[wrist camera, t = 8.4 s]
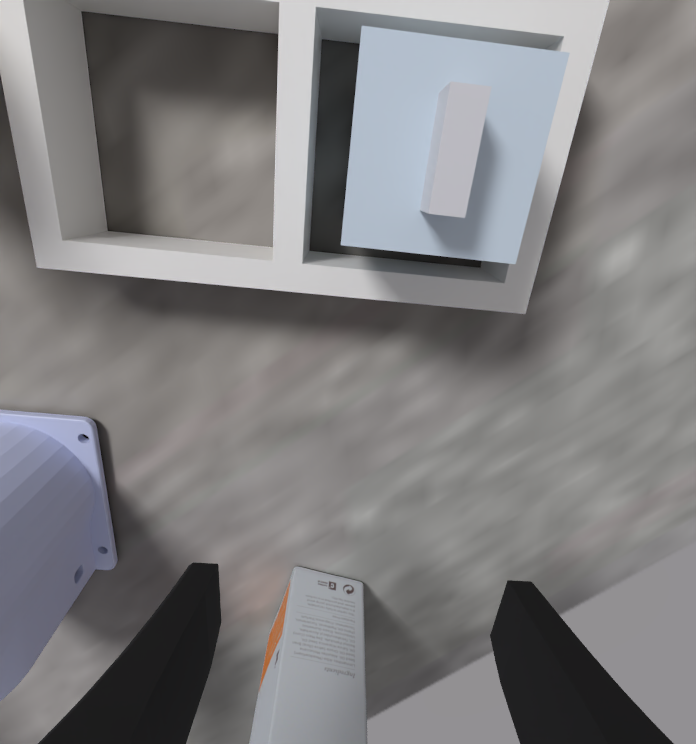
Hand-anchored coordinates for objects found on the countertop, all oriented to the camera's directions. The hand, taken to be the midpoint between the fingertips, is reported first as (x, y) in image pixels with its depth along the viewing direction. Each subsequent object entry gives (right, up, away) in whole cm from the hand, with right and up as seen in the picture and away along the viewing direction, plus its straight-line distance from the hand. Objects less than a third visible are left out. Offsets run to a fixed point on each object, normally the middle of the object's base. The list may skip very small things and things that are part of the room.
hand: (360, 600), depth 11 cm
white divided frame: (-2, +14, +5) cm, 15 cm away
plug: (+2, +13, +5) cm, 15 cm away
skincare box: (-2, -8, +15) cm, 17 cm away
